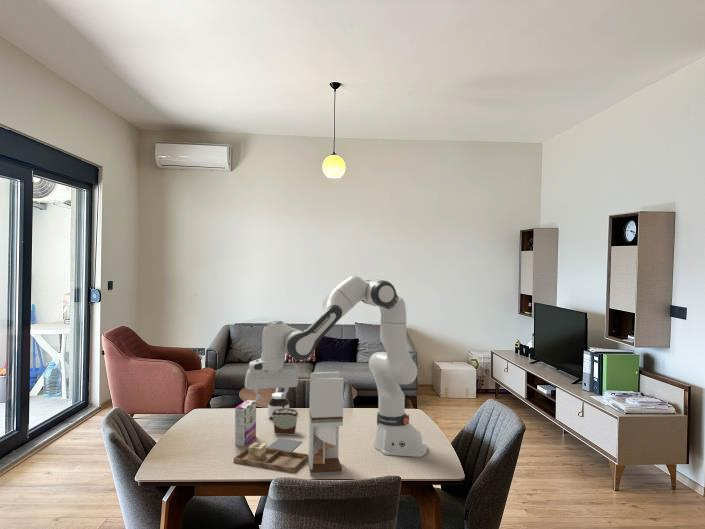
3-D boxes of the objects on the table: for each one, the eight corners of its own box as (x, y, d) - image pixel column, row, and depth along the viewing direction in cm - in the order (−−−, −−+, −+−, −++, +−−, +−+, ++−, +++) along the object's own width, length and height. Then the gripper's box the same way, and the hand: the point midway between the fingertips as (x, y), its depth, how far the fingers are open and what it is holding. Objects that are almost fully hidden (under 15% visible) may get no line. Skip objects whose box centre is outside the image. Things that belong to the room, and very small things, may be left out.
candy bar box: (245, 436, 200) (246, 399, 200) (256, 437, 199) (256, 400, 199) (234, 446, 189) (234, 407, 189) (245, 447, 188) (246, 408, 188)
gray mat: (302, 443, 193) (302, 441, 193) (291, 453, 183) (291, 451, 183) (279, 439, 196) (279, 438, 196) (266, 449, 186) (266, 447, 186)
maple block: (266, 456, 178) (266, 443, 178) (259, 461, 173) (260, 448, 173) (254, 454, 179) (255, 441, 179) (248, 459, 174) (248, 446, 174)
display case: (310, 476, 163) (312, 379, 163) (308, 463, 173) (310, 372, 173) (341, 474, 165) (343, 378, 165) (337, 462, 175) (339, 371, 175)
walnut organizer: (308, 460, 176) (308, 454, 176) (294, 474, 164) (294, 468, 164) (251, 450, 184) (251, 445, 184) (233, 463, 172) (233, 458, 172)
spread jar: (271, 421, 220) (272, 397, 220) (263, 415, 229) (263, 392, 229) (294, 417, 226) (294, 394, 226) (285, 411, 235) (285, 389, 236)
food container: (300, 430, 209) (301, 408, 209) (298, 434, 203) (298, 412, 203) (274, 428, 210) (275, 407, 210) (271, 433, 204) (271, 411, 204)
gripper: (297, 361, 181) (295, 395, 180) (245, 362, 174) (243, 398, 173) (300, 364, 175) (299, 400, 174) (246, 366, 168) (245, 403, 167)
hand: (271, 399), depth 174 cm, fingers open, 8 cm apart
